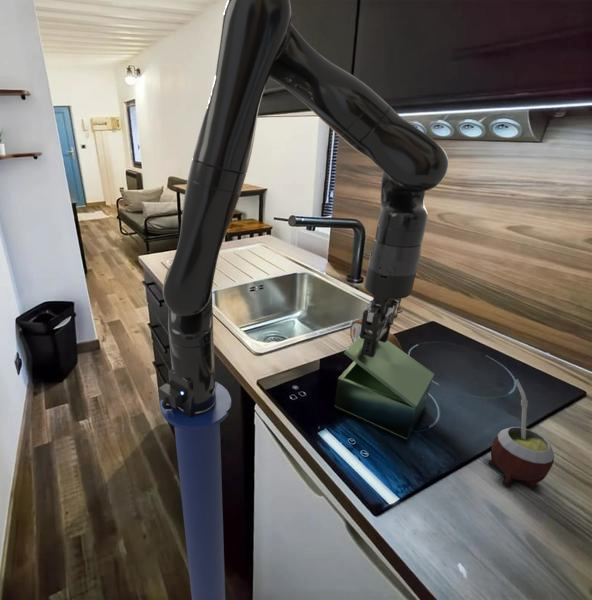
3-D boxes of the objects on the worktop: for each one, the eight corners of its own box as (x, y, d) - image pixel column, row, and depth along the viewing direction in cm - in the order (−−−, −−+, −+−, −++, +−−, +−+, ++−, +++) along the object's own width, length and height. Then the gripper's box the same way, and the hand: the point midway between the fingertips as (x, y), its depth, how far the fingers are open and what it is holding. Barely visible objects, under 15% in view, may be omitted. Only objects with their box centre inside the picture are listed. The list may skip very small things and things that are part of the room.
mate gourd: (532, 503, 55) (570, 428, 48) (471, 468, 61) (498, 398, 54) (546, 476, 59) (584, 404, 52) (488, 446, 64) (515, 378, 58)
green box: (333, 408, 75) (338, 378, 72) (356, 381, 82) (361, 352, 79) (406, 442, 66) (414, 409, 63) (424, 408, 74) (432, 377, 70)
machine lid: (343, 353, 69) (357, 335, 66) (366, 329, 76) (380, 312, 73) (413, 408, 63) (433, 392, 60) (431, 376, 70) (450, 360, 67)
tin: (399, 371, 85) (406, 340, 81) (388, 374, 84) (395, 343, 80) (356, 339, 98) (360, 312, 94) (345, 342, 97) (350, 314, 94)
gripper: (383, 251, 70) (368, 327, 77) (353, 273, 61) (339, 356, 68) (427, 259, 65) (407, 339, 73) (402, 284, 56) (381, 372, 63)
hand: (374, 347), depth 70 cm, fingers closed on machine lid, 6 cm apart
